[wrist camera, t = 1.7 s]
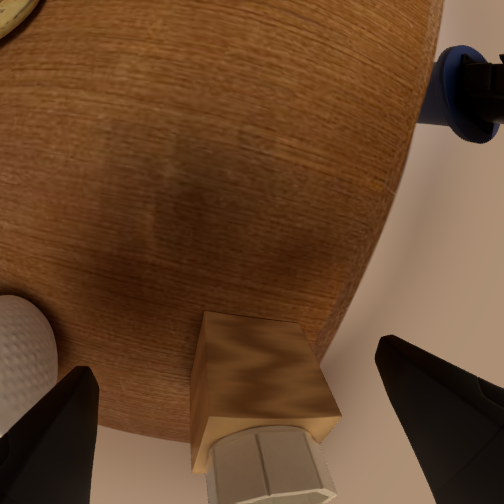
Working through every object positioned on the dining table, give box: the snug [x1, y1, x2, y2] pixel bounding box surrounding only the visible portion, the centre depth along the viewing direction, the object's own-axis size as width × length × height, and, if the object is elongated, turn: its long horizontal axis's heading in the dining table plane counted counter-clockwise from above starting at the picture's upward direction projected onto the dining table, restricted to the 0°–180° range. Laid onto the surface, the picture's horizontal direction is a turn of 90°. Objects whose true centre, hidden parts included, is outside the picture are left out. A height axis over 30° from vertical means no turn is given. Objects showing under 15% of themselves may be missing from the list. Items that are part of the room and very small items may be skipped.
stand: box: [190, 311, 342, 474], centre depth 20 cm, size 8×8×10 cm
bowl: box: [205, 425, 337, 504], centre depth 14 cm, size 7×7×4 cm
